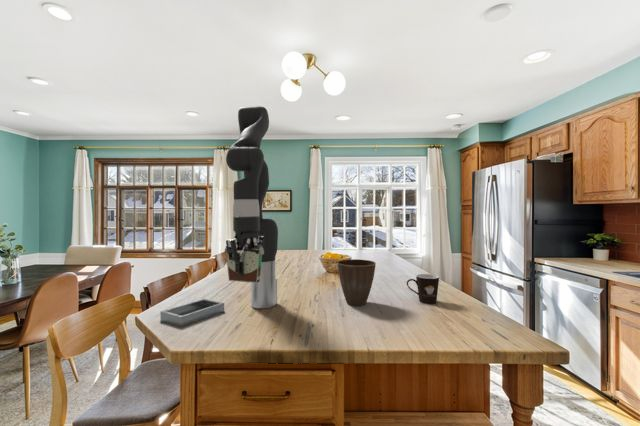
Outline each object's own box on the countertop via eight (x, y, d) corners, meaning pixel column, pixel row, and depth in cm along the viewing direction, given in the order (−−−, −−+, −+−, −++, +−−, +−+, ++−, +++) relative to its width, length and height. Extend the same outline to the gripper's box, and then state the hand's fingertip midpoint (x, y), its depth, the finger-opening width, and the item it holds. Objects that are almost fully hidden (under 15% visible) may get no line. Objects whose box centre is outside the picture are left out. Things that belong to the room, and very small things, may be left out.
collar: (204, 306, 112) (204, 298, 112) (224, 311, 107) (224, 303, 107) (160, 320, 98) (160, 311, 98) (181, 326, 92) (181, 317, 92)
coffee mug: (441, 300, 118) (441, 275, 118) (437, 306, 111) (436, 279, 111) (412, 296, 124) (411, 272, 124) (406, 301, 117) (405, 276, 117)
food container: (272, 278, 88) (271, 245, 88) (261, 283, 82) (261, 247, 82) (236, 275, 92) (236, 243, 92) (224, 280, 86) (224, 246, 86)
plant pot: (383, 303, 115) (383, 262, 115) (359, 312, 105) (359, 267, 105) (353, 295, 126) (353, 258, 126) (329, 303, 115) (329, 262, 115)
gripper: (253, 214, 95) (254, 267, 95) (217, 215, 82) (219, 276, 82) (272, 214, 91) (273, 269, 91) (237, 215, 78) (238, 279, 79)
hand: (247, 272), depth 87 cm, fingers closed on food container, 5 cm apart
